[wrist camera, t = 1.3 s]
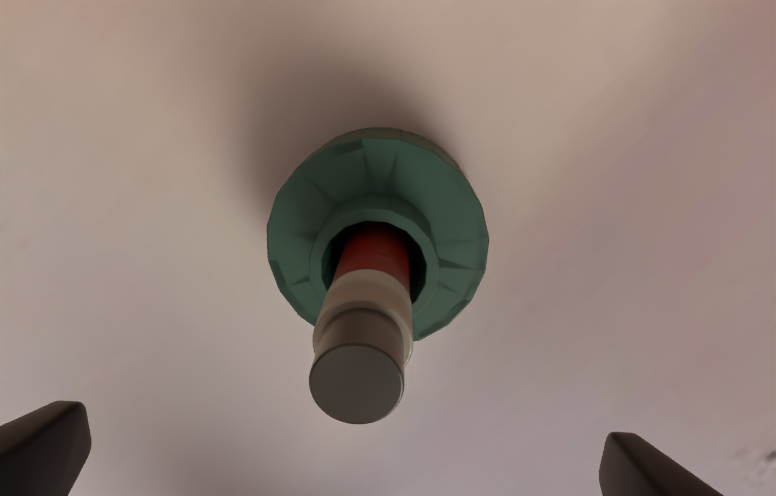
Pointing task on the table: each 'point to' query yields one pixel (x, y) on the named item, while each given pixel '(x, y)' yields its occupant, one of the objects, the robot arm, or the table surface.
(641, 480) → the robot arm
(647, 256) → the table surface
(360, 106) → the table surface
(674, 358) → the table surface
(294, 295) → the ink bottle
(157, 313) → the table surface
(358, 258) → the capped glue stick
